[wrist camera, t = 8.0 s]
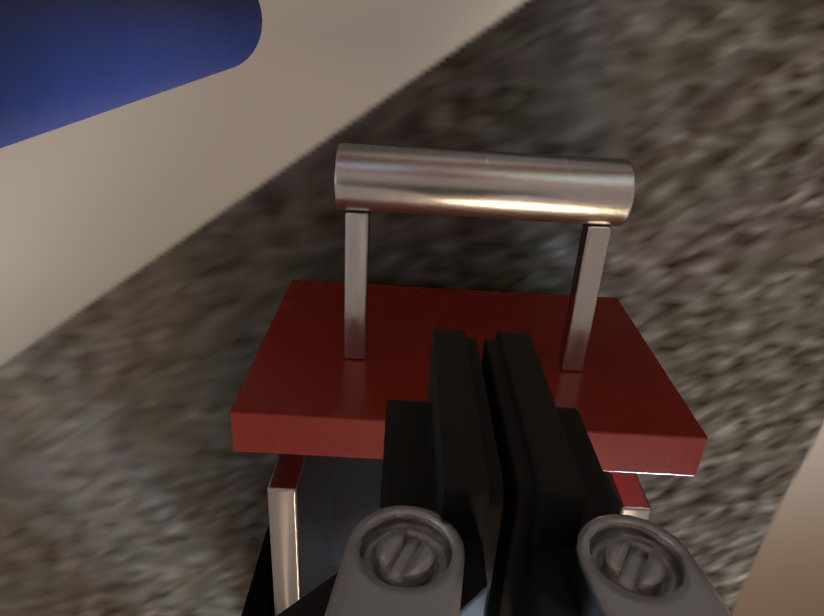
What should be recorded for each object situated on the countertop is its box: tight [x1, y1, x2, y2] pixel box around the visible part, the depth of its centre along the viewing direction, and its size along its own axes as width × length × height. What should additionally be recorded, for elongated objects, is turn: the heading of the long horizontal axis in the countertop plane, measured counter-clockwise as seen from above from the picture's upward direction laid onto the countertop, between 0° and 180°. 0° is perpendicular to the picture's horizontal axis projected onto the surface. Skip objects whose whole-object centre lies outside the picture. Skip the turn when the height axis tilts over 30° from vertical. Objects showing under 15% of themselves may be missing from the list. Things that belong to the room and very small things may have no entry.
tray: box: [230, 143, 708, 616], centre depth 20 cm, size 19×11×8 cm, turn 177°
